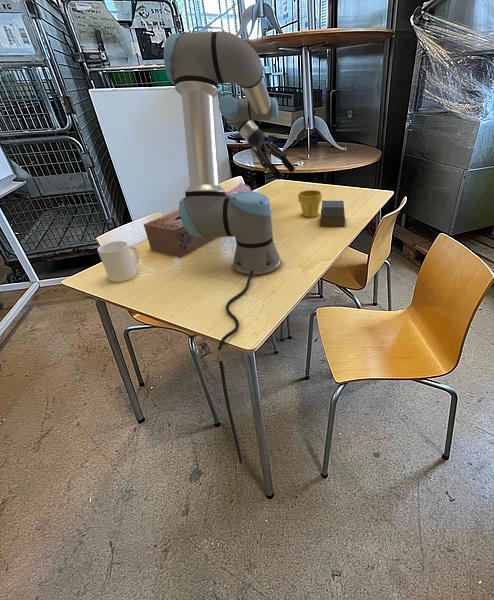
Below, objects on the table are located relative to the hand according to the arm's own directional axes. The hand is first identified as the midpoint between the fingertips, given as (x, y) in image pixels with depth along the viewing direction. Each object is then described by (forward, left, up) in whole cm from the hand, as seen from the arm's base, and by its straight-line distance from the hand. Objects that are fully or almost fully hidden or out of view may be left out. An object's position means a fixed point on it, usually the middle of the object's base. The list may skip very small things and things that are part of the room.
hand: (287, 174), depth 146 cm
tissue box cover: (-33, +35, -17) cm, 51 cm away
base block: (-13, -20, -17) cm, 29 cm away
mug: (-60, +46, -17) cm, 78 cm away
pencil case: (+9, +27, -17) cm, 33 cm away
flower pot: (-3, -10, -17) cm, 20 cm away
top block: (-13, -20, -13) cm, 27 cm away
